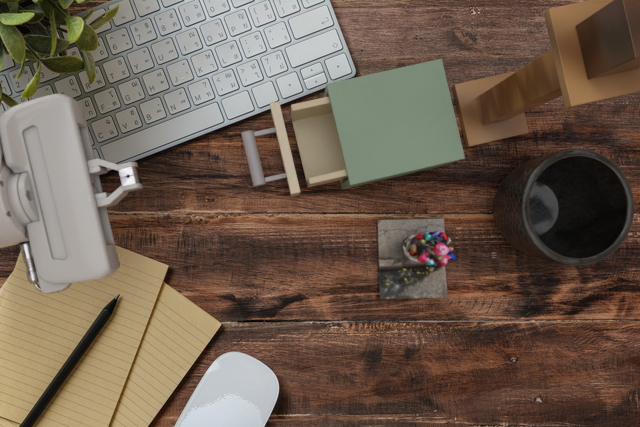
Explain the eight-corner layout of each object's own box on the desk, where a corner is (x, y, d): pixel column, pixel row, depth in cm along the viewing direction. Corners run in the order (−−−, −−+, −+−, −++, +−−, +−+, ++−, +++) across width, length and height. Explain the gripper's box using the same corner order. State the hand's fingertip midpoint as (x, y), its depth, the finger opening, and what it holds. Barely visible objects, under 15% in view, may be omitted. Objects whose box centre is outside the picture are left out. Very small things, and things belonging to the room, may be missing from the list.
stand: (451, 86, 69) (548, 8, 43) (511, 73, 69) (642, -12, 43) (465, 147, 69) (571, 106, 43) (525, 134, 69) (664, 85, 43)
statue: (375, 221, 69) (396, 206, 54) (439, 220, 69) (478, 205, 54) (378, 298, 68) (401, 305, 53) (444, 296, 68) (484, 302, 53)
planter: (478, 258, 69) (522, 267, 56) (477, 160, 69) (520, 148, 56) (572, 256, 70) (637, 265, 57) (571, 160, 70) (635, 147, 57)
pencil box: (574, 25, 43) (621, -6, 37) (626, 14, 43) (681, -19, 37) (587, 80, 43) (635, 58, 37) (639, 68, 43) (695, 44, 37)
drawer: (259, 204, 66) (255, 202, 58) (240, 123, 66) (234, 110, 58) (385, 175, 67) (397, 169, 59) (366, 95, 67) (376, 79, 59)
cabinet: (341, 189, 67) (350, 185, 58) (321, 102, 67) (326, 83, 58) (440, 166, 68) (465, 158, 59) (420, 80, 68) (442, 58, 59)
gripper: (16, 303, 48) (152, 270, 49) (-31, 105, 48) (106, 76, 49) (47, 293, 55) (168, 264, 56) (6, 118, 55) (127, 93, 55)
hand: (139, 175), depth 52 cm, fingers closed
